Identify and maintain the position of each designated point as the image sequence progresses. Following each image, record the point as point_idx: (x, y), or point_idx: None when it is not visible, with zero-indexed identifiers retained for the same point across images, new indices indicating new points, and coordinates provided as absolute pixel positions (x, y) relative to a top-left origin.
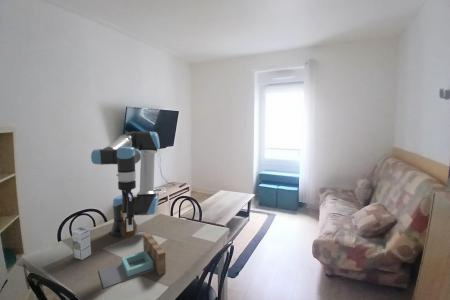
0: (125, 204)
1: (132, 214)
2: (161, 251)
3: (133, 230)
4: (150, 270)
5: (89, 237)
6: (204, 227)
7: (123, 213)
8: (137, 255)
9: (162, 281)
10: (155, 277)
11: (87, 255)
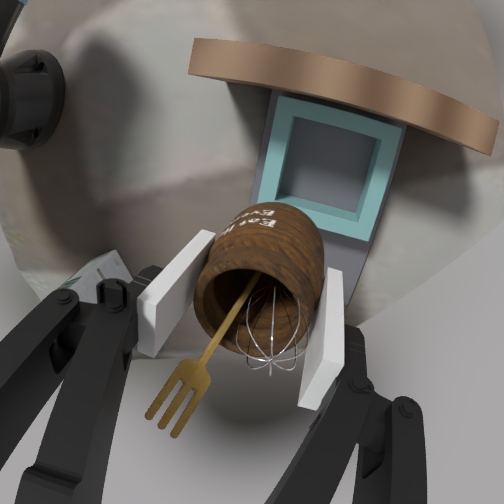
0: (106, 441)
1: (415, 444)
2: (478, 125)
3: (320, 251)
4: (400, 146)
5: (76, 286)
6: None
7: (140, 348)
8: (286, 146)
9: (481, 158)
10: (446, 158)
11: (121, 264)
